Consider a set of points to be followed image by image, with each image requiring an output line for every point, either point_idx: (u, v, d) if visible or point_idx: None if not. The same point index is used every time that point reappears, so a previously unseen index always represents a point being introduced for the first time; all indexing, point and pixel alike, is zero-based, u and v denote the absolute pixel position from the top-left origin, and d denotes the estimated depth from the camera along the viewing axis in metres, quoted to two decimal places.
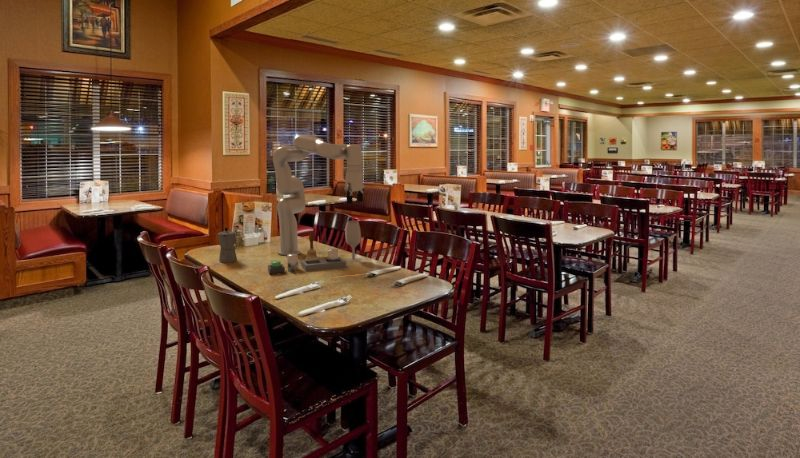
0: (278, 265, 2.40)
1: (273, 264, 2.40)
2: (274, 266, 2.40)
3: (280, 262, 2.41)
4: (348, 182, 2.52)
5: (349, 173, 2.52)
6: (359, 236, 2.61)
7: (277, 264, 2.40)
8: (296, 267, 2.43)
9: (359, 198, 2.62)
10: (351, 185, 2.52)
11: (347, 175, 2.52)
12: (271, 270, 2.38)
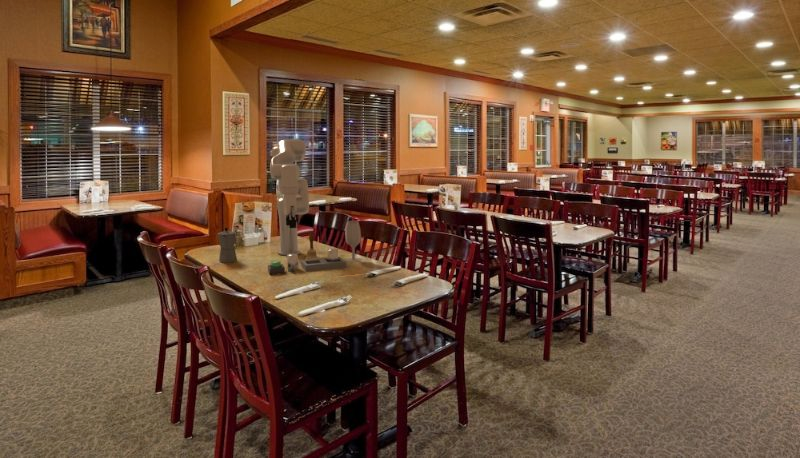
0: (278, 265, 2.40)
1: (273, 264, 2.40)
2: (274, 266, 2.40)
3: (280, 262, 2.41)
4: (291, 205, 2.35)
5: (291, 196, 2.35)
6: (359, 236, 2.61)
7: (277, 264, 2.40)
8: (296, 267, 2.43)
9: (289, 222, 2.45)
10: (295, 208, 2.36)
11: (289, 198, 2.34)
12: (271, 270, 2.38)
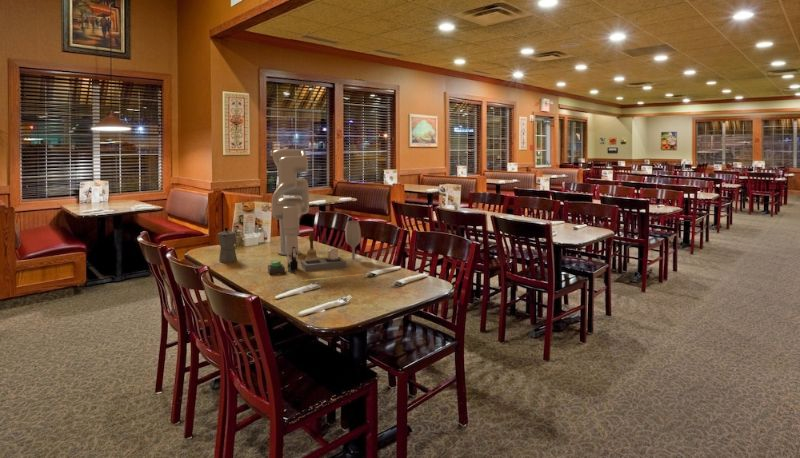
0: (278, 265, 2.40)
1: (273, 264, 2.40)
2: (274, 266, 2.40)
3: (280, 262, 2.41)
4: (293, 246, 2.38)
5: (293, 237, 2.38)
6: (359, 236, 2.61)
7: (277, 264, 2.40)
8: None
9: None
10: (296, 249, 2.39)
11: (291, 239, 2.38)
12: (271, 270, 2.38)
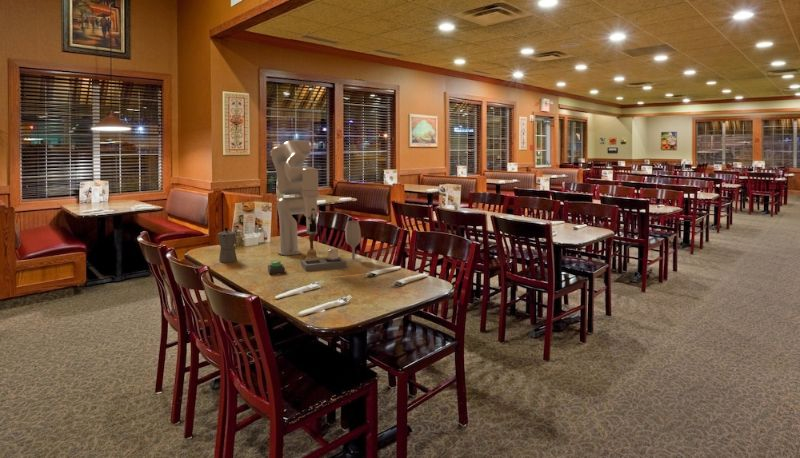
0: (278, 265, 2.40)
1: (273, 264, 2.40)
2: (274, 266, 2.40)
3: (280, 262, 2.41)
4: (312, 207, 2.39)
5: (312, 198, 2.39)
6: (359, 236, 2.61)
7: (277, 264, 2.40)
8: None
9: None
10: (316, 211, 2.40)
11: (310, 201, 2.38)
12: (271, 270, 2.38)
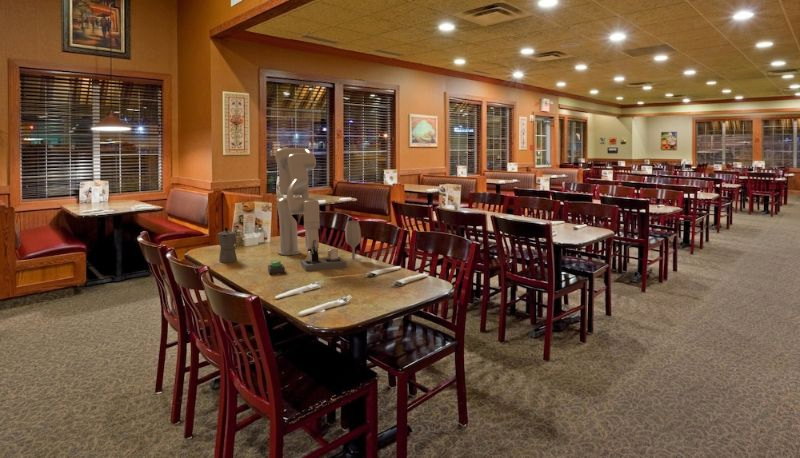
0: (278, 265, 2.40)
1: (273, 264, 2.40)
2: (274, 266, 2.40)
3: (280, 262, 2.41)
4: (314, 239, 2.42)
5: (314, 230, 2.41)
6: (359, 236, 2.61)
7: (277, 264, 2.40)
8: None
9: None
10: (317, 242, 2.42)
11: (311, 232, 2.41)
12: (271, 270, 2.38)
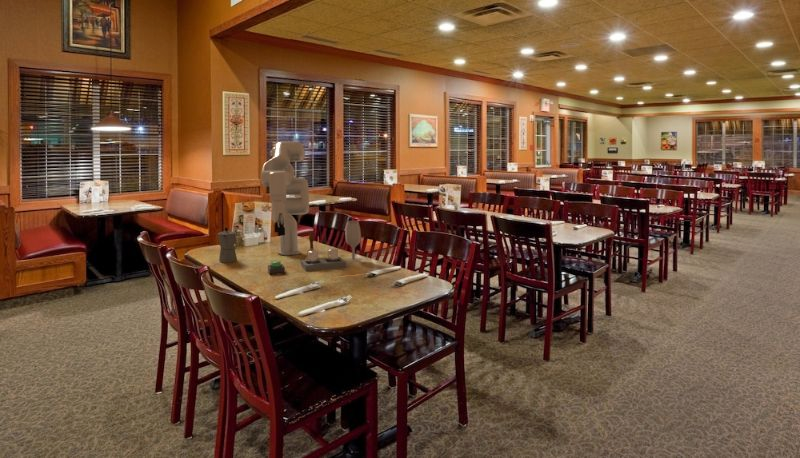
0: (278, 265, 2.40)
1: (273, 264, 2.40)
2: (274, 266, 2.40)
3: (280, 262, 2.41)
4: (280, 212, 2.33)
5: (280, 203, 2.33)
6: (359, 236, 2.61)
7: (277, 264, 2.40)
8: None
9: (277, 229, 2.44)
10: (283, 215, 2.34)
11: (277, 205, 2.33)
12: (271, 270, 2.38)
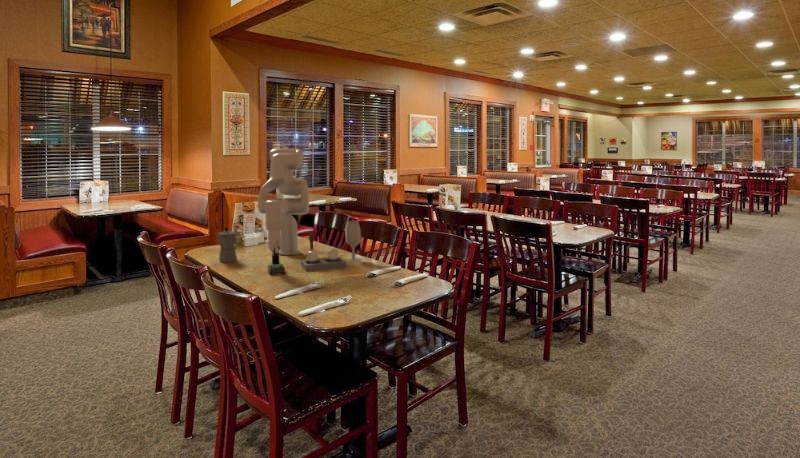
0: (278, 266, 2.40)
1: (273, 265, 2.40)
2: (274, 267, 2.40)
3: (280, 263, 2.42)
4: (275, 240, 2.35)
5: (275, 231, 2.35)
6: (359, 236, 2.61)
7: (277, 265, 2.40)
8: None
9: None
10: (279, 244, 2.36)
11: (273, 234, 2.34)
12: (271, 270, 2.38)
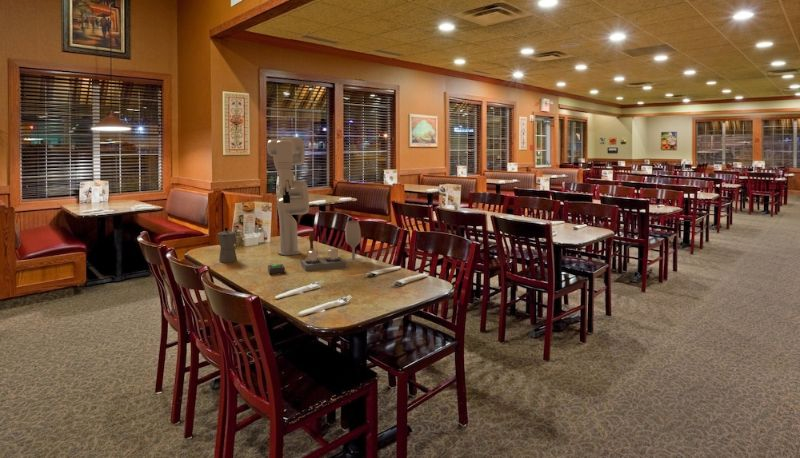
0: None
1: (273, 267, 2.40)
2: None
3: (280, 265, 2.42)
4: (287, 179, 2.43)
5: (286, 170, 2.43)
6: (359, 236, 2.61)
7: None
8: None
9: None
10: (290, 182, 2.44)
11: (284, 172, 2.43)
12: (271, 270, 2.38)
